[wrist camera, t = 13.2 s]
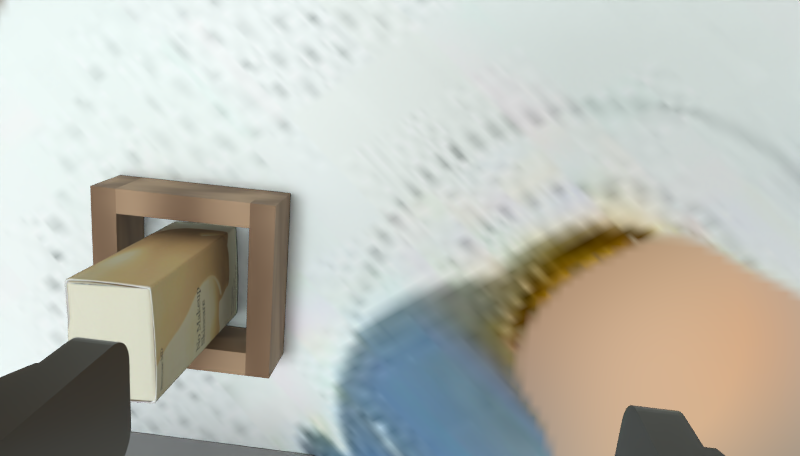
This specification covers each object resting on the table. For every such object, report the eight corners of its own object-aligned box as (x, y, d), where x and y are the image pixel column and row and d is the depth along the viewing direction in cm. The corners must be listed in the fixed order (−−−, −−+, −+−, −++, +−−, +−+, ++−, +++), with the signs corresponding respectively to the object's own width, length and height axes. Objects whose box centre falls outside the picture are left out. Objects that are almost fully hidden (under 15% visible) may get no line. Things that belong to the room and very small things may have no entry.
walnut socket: (290, 193, 41) (275, 205, 37) (283, 353, 44) (268, 378, 40) (120, 175, 41) (90, 185, 38) (124, 334, 44) (96, 357, 41)
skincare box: (239, 314, 43) (158, 411, 32) (175, 309, 44) (71, 404, 32) (237, 220, 42) (151, 286, 30) (171, 215, 42) (60, 279, 30)
